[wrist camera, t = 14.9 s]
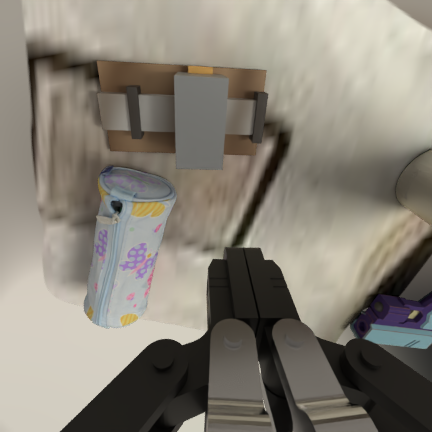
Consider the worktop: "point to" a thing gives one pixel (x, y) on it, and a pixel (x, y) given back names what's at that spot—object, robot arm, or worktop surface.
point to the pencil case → (126, 244)
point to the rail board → (166, 85)
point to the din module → (200, 118)
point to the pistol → (396, 322)
